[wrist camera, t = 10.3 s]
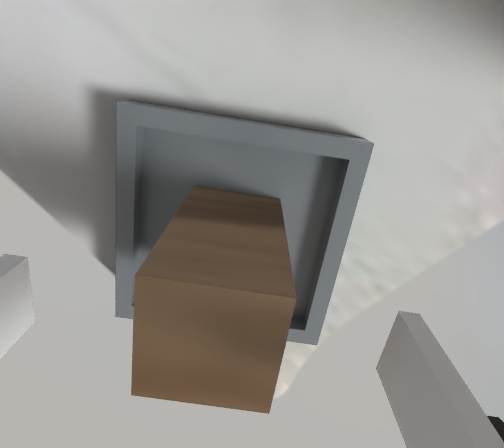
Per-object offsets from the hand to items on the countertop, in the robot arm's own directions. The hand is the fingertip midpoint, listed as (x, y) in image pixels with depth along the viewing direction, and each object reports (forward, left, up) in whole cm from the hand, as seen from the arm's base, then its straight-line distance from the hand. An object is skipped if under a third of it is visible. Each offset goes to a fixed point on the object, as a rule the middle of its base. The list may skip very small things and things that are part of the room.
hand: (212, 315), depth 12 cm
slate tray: (0, 0, -9) cm, 9 cm away
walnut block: (0, 0, -9) cm, 9 cm away
